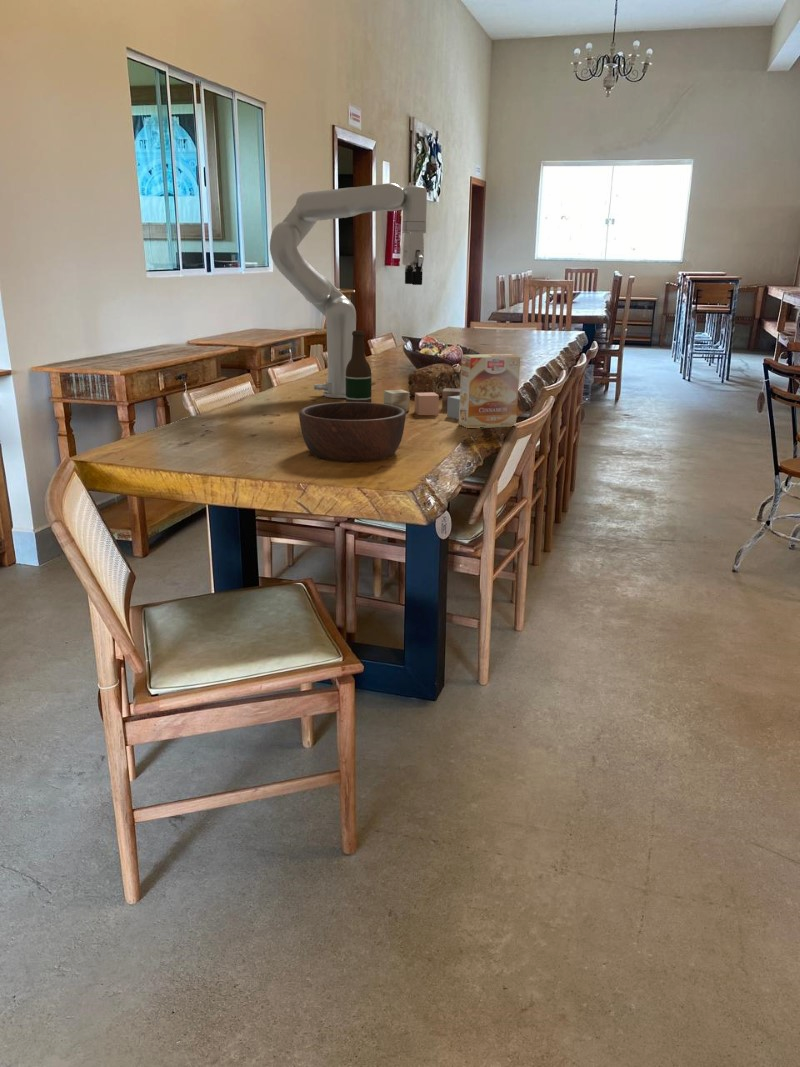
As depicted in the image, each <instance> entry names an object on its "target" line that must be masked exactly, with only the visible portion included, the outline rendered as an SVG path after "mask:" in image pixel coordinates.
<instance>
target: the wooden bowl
mask: <svg viewBox="0 0 800 1067" xmlns="http://www.w3.org/2000/svg"><path fill="white" fill-rule="evenodd" d="M406 416H407V412H405V411H404V410H403V409H402V408H399V407H396V406H392V405H387V404H384V403H378V402H371V403H369V402H346V401H340V402H339V401H336V402H326V403H325V402H324V403H316V404H311V405H308V406H304V407H303V408H301V409H300V410H299V412H298V417H299V424H300V430H301V434H302V439H303V442H304V444H305V446H306V448H307V450H308V451H309V452H310V454H312V456H314V457H315V456H316V458H318V459H321V460H326V461H330V462H331V461H332V462H340V463H341V462H344V463H360V462H361V463H362V462H363V463H365V462H374V461H379V460H380V461H381V460H385V459H388V458H389V457H392V456H393V455H394V454H395V453H396V451H397V450H398V448H399V446H400V444H401V442H402V439H403V435H404V430H405V424H406V419H407V418H406Z"/></svg>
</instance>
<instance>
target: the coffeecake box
mask: <svg viewBox="0 0 800 1067" xmlns="http://www.w3.org/2000/svg"><path fill="white" fill-rule="evenodd" d="M520 368H521V356H520V355H517V354H512V353H489V354H488V353H487V354H486V353H484V354H483V353H481V354H461V364H460V380H459V381H460V382H459V384H460V385H459V389H460V405H459V420H458V425H459V424H460V425H459V426H461V425H462V427H463V426H464V427H463V428H465V427H466V428H465V429H467V428H477V429H481V428H480V427H484V428H483V429H488V428H489V429H490V428H494V429H495V428H512V426H513V425H514V424H516V425H517V414H518V400H519V399H518V398H519V382H520V370H521V369H520Z"/></svg>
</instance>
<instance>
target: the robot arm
mask: <svg viewBox="0 0 800 1067" xmlns="http://www.w3.org/2000/svg"><path fill="white" fill-rule="evenodd" d="M427 190H428V189H427V188H426V186H423V185H407V186H405V187H402V186H400V185H399V184H396V183H394V182H393V183H392V182H390V183H380V184H371V185H366V186H365V185H363V186H355V187H354V186H353V187H351V186H350V187H343V188H341V187H340V188H336V189H326V190H325V189H324V190H317V191H307V192H303V193H302V194H300V195H299V196H298V197H297V198H296V201H295V204H294V206H293V208H292V209H291V210H290V211H289V213H288V214H287V215H286V216H285V218H284V219H283V220H282V222H279V223H278V224H276V225H275V226H274V228H273V229H272V232H271V236H270V239H269V240H270V241H269V252H270V256H271V259H272V261H273V264H274V266H275V268H276V269H277V271H279V272H280V273H281V275H282V276H283V277H284V278H286V280H287V281H289V283H291V285H292V286H293V287H294V288H295V289H296V290H297V291H298V292H300V294H301V295H302V296H303V298H304V299H305V300H306V301H308V302H309V303H310V304H312V305H313V307H315V309H317V311H319V312H320V313H321V314H322V315H323V317H325V318H326V321H325V322H326V349H327V350H326V353H327V354H326V355H327V357H326V358H327V360H326V361H327V380H326V381H325V382H324V383H322V384H321V383H317V384H316V383H314V384H313V390H314V391H323V396H324V397H326V398H330V399H331V398H333V399H346V368H347V365H348V363H349V361H350V360H351V357H352V344H353V335H352V332H353V331H357V311H356V308H355V305H354V304H353V303H352V302H351V300H350V299H348V298H347V297H346V295H345V294H343V293H342V292H341V291H340V290H339V289H338V288H337V287H336V286H335V285H334V284H333V283H332V282H331V281H330V280H329V279H328V277H326V276H325V275H323V274H321V273H319V271H317V270H316V269H315V268H314V267H313V266H312V265H311V264H310V263H309V262H308V261H307V260H306V259H305V258H304V257H303V255H301V253H300V252H299V249H298V247H299V245H300V244H301V242H303V240H304V239H305V238H306V236H307V235H308V234H309V233H310V231H311V229H313V227H314V226H315V225H316V223H317V222H318V221H326V220H333V219H335V220H336V219H343V218H344V219H347V218H349V217H355V216H358V215H360V214H366V213H372V212H373V213H374V212H380V211H381V212H382V211H387V212H396V211H402V233H403V234H404V236H403V242H402V243H403V244H402V245H403V246H402V264H403V266H405V267H404V284H405V285H413V286H416V285H417V286H422V285H423V270H424V269H423V264H424V258H425V256H424V255H425V253H424V251H425V250H424V249H425V247H424V246H425V242H424V241H425V240H424V239H425V238H424V234H427V209H428V208H427V207H428V205H427V204H428V202H427V200H428V197H427V196H428V191H427Z"/></svg>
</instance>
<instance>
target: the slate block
mask: <svg viewBox="0 0 800 1067" xmlns="http://www.w3.org/2000/svg"><path fill="white" fill-rule="evenodd" d="M459 405H460V396H451V397H448V401H447V411H446V417H447V416H448V417H447V418H450V417H452V418H451V419H454V418H456V419H455V420H458V419H459Z"/></svg>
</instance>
